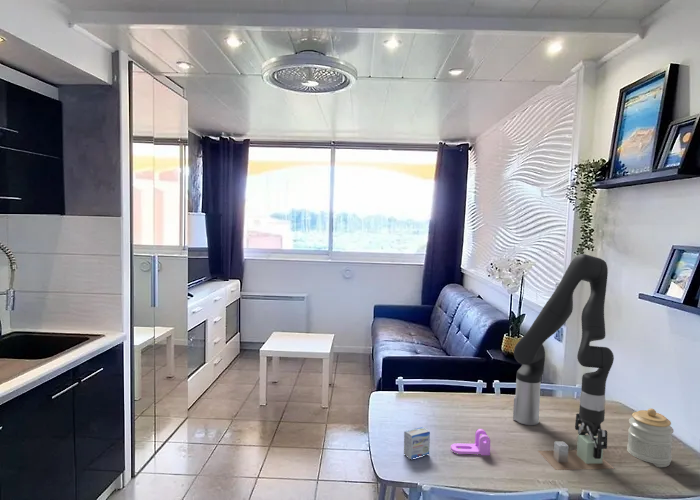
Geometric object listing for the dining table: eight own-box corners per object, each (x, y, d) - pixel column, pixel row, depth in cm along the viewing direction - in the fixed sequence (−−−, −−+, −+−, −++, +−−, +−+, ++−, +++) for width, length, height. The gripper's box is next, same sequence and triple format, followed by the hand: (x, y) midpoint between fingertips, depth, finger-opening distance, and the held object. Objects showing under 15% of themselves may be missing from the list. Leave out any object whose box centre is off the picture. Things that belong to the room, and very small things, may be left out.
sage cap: (586, 463, 152) (587, 443, 152) (576, 454, 158) (577, 435, 157) (602, 463, 153) (603, 443, 152) (592, 454, 158) (593, 434, 158)
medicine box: (410, 461, 155) (411, 436, 154) (403, 454, 159) (403, 430, 158) (429, 455, 158) (430, 431, 158) (421, 449, 162) (422, 426, 162)
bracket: (485, 447, 165) (485, 428, 164) (489, 455, 159) (490, 436, 159) (448, 446, 165) (449, 428, 164) (452, 455, 159) (453, 435, 159)
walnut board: (555, 474, 148) (555, 469, 148) (537, 454, 160) (537, 450, 160) (614, 472, 150) (614, 468, 150) (592, 453, 162) (592, 449, 162)
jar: (654, 471, 151) (658, 419, 150) (618, 452, 163) (621, 404, 162) (679, 463, 156) (683, 413, 155) (642, 445, 168) (645, 399, 167)
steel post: (558, 462, 153) (559, 446, 152) (553, 457, 156) (554, 441, 156) (567, 462, 153) (568, 446, 153) (562, 457, 156) (563, 441, 156)
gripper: (569, 396, 161) (567, 441, 162) (594, 414, 146) (591, 463, 148) (590, 396, 161) (587, 441, 162) (616, 414, 147) (613, 462, 148)
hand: (589, 451), depth 155 cm, fingers open, 8 cm apart
